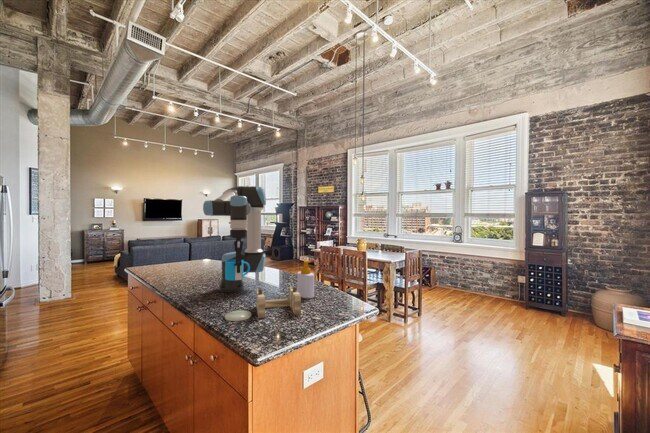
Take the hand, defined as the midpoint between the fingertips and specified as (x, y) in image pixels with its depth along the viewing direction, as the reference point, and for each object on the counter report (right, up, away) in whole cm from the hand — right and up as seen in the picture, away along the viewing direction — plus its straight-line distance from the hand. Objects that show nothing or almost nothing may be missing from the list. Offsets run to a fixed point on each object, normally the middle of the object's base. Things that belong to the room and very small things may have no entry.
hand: (238, 277), depth 137 cm
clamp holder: (+17, -18, +9) cm, 27 cm away
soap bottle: (+29, -18, +35) cm, 49 cm away
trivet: (0, -18, 0) cm, 18 cm away
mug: (0, 0, +1) cm, 1 cm away
